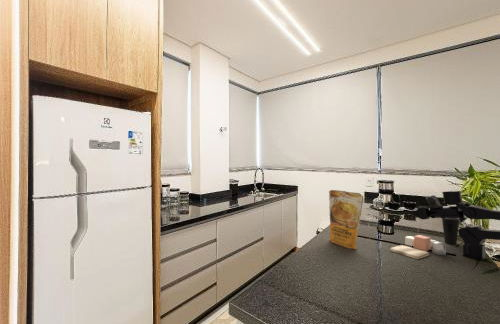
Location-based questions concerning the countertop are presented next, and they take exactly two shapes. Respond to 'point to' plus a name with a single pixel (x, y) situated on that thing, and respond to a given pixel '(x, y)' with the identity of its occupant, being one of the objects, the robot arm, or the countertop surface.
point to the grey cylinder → (438, 248)
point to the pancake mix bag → (344, 217)
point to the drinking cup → (450, 230)
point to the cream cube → (409, 241)
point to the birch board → (409, 251)
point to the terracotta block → (422, 242)
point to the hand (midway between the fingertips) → (412, 212)
